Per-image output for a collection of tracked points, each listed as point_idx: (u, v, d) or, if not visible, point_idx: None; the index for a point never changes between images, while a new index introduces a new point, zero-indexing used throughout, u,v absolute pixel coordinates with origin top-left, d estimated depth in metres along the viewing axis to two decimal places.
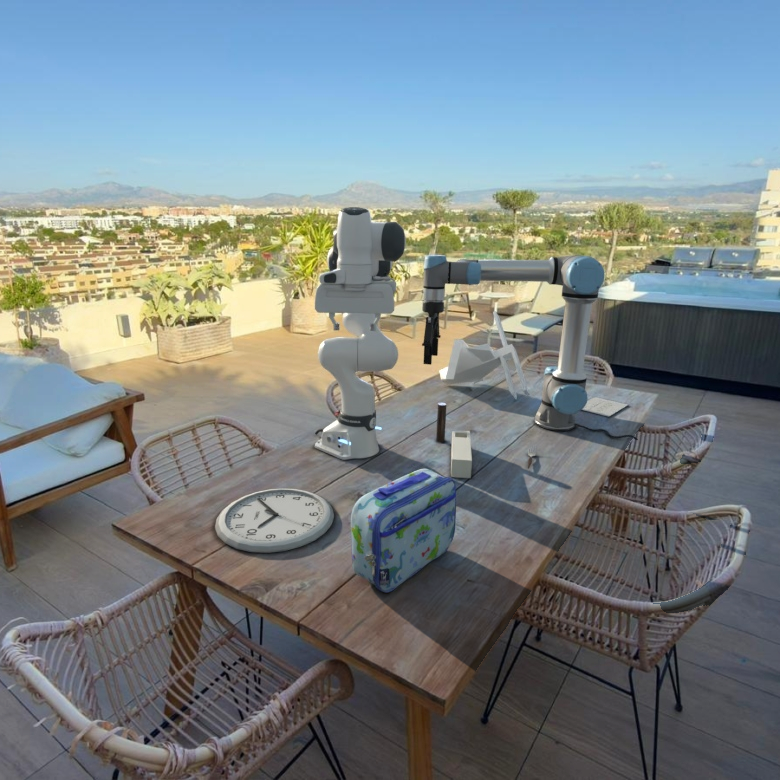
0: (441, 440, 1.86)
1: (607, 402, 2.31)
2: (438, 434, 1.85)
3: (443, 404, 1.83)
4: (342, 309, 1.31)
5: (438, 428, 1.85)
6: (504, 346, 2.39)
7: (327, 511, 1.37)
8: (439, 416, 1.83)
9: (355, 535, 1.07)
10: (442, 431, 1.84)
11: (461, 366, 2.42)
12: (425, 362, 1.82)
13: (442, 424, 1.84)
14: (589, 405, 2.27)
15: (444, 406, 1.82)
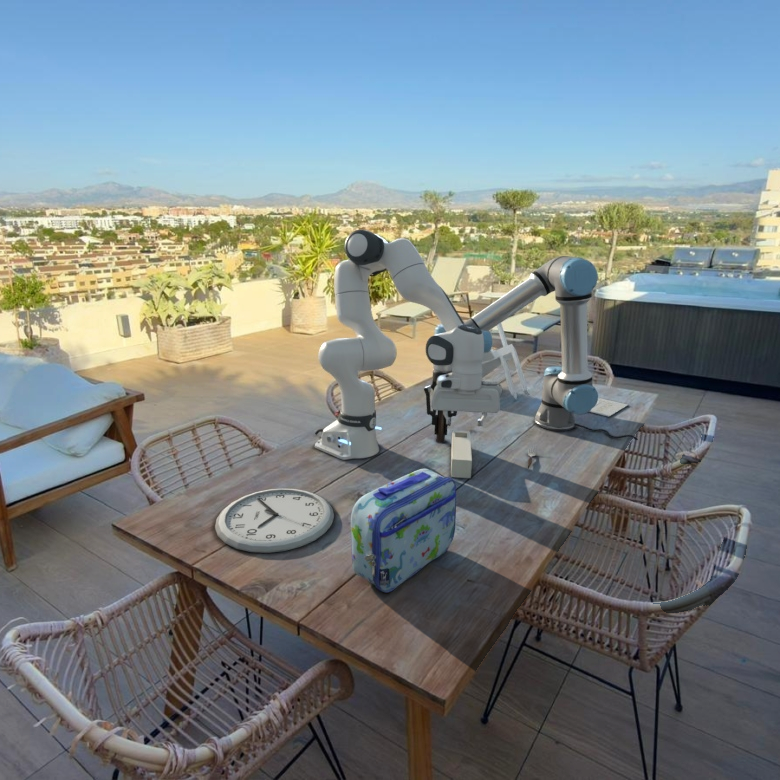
0: (441, 440, 1.86)
1: (607, 402, 2.31)
2: (438, 434, 1.85)
3: None
4: (455, 408, 1.55)
5: (438, 428, 1.85)
6: (504, 346, 2.39)
7: (327, 511, 1.37)
8: (439, 416, 1.83)
9: (355, 535, 1.07)
10: (442, 431, 1.84)
11: None
12: None
13: (442, 424, 1.84)
14: None
15: None
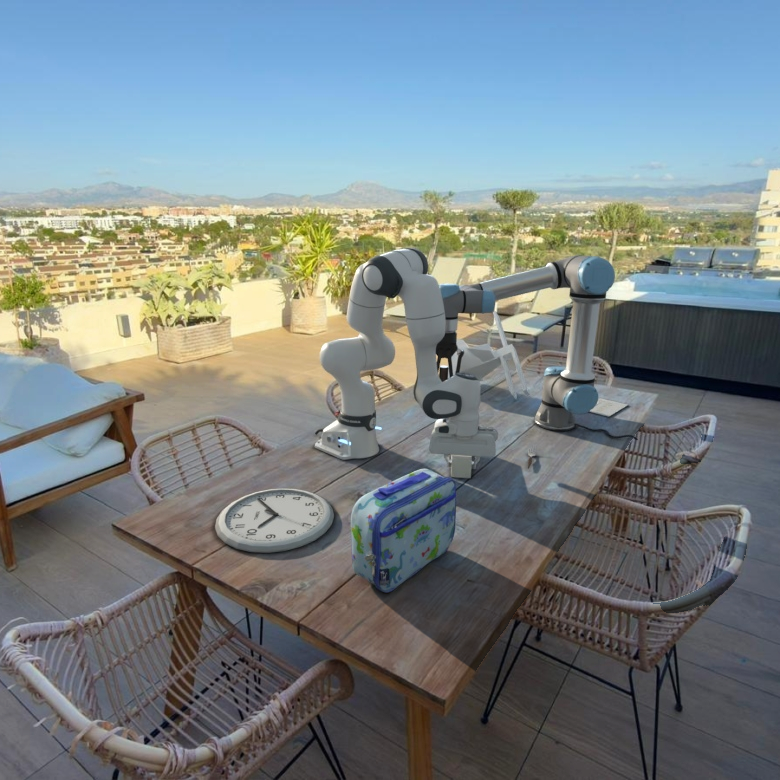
0: None
1: (607, 402, 2.31)
2: None
3: (445, 366, 1.79)
4: (452, 452, 1.59)
5: None
6: (504, 346, 2.39)
7: (327, 511, 1.37)
8: (441, 379, 1.79)
9: (355, 535, 1.07)
10: None
11: (461, 366, 2.42)
12: None
13: None
14: None
15: (446, 368, 1.78)
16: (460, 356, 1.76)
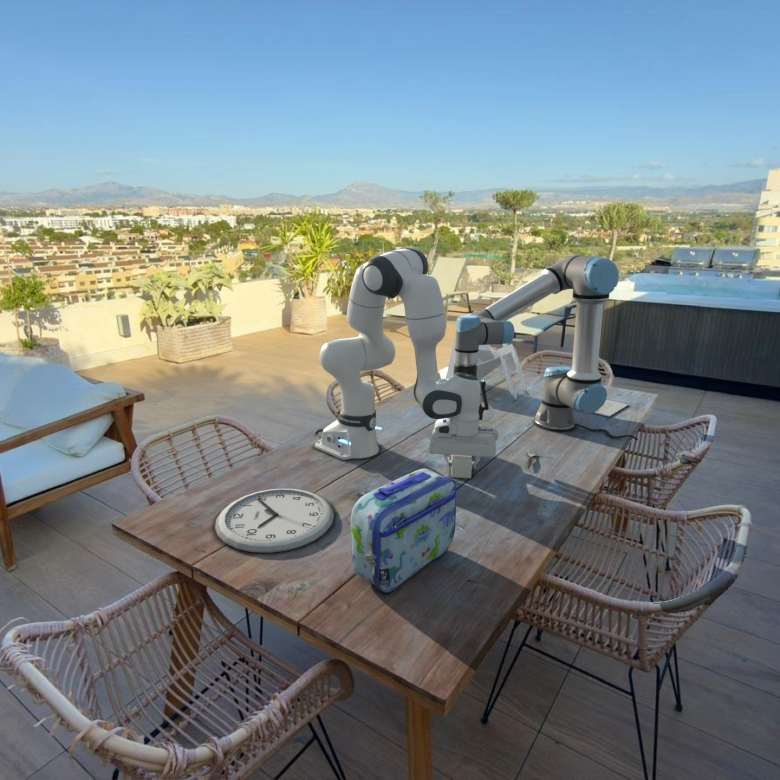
0: None
1: (607, 402, 2.31)
2: None
3: None
4: (452, 452, 1.59)
5: None
6: (504, 346, 2.39)
7: (327, 511, 1.37)
8: None
9: (355, 535, 1.07)
10: None
11: None
12: None
13: None
14: None
15: None
16: (483, 387, 1.70)
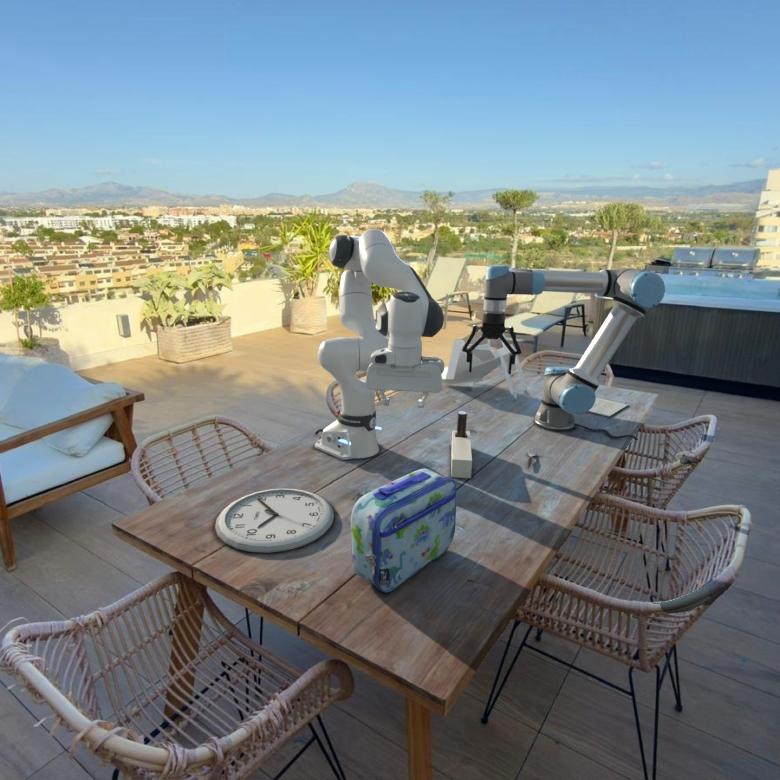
0: None
1: (607, 402, 2.31)
2: None
3: (464, 413, 1.74)
4: (392, 387, 1.37)
5: None
6: (504, 346, 2.39)
7: (327, 511, 1.37)
8: (459, 425, 1.75)
9: (355, 535, 1.07)
10: None
11: (461, 366, 2.42)
12: None
13: (463, 434, 1.75)
14: None
15: (465, 415, 1.74)
16: (511, 332, 1.78)
